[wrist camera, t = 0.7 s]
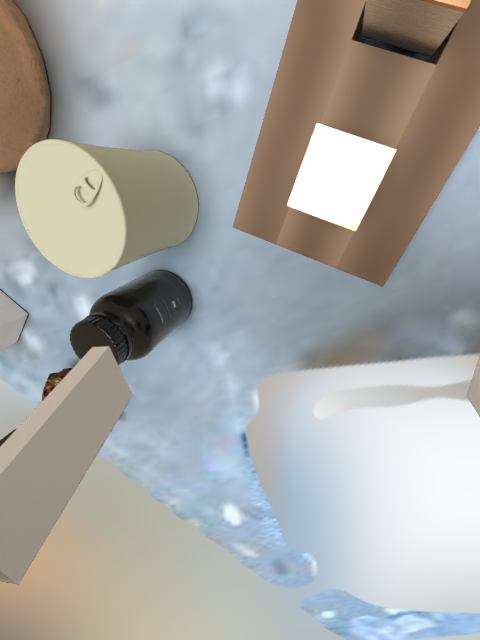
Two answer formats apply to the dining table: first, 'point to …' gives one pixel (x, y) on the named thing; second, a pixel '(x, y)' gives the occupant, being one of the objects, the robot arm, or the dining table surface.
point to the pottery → (20, 88)
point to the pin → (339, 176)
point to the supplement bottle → (134, 317)
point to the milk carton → (10, 321)
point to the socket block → (362, 132)
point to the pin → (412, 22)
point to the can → (102, 204)
